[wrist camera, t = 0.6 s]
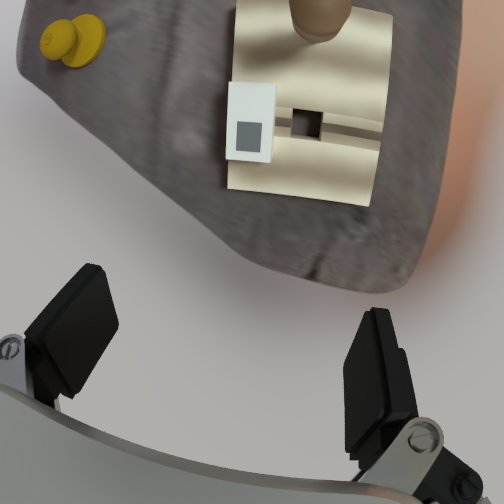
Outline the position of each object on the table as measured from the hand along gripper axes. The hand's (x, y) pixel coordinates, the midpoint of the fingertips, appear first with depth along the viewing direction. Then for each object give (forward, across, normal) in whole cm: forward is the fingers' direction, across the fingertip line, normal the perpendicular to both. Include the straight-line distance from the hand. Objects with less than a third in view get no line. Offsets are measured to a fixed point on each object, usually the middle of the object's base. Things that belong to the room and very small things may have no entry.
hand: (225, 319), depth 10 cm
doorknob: (+28, +28, -15) cm, 42 cm away
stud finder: (+25, +3, -3) cm, 25 cm away
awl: (+25, -2, -13) cm, 28 cm away
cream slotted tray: (+28, -2, -6) cm, 29 cm away
